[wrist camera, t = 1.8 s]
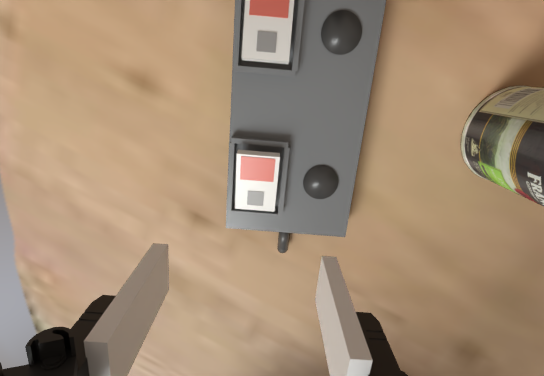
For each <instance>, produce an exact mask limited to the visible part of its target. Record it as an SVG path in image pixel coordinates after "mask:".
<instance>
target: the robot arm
mask: <svg viewBox="0 0 544 376" xmlns="http://www.w3.org/2000/svg"><path fill="white" fill-rule="evenodd" d="M168 290H169V265H168V244H155V243H153V244H152V246H151V247H150V249H149V250H148V251H147V253H146V254H145V256H144V257H143V258H142V260H141V261H140V263H139V264H138V266H137V267H136V268H135V270H134V271H133V273H132V274H131V275H130V277H129V278H128V280H127V281H126V282H125V284H124V285H123V287H122V288H121V289H120V291H119V292H118V294H117V295H116V296H110V295H102V296H101V297H99V298H98V299H96V300H95V301H93V302H92V303H91V304H90V305H89V307H88V308H87V309H86V310H85V313H83V314H82V315H81V317H80V318H79V320H78V321H77V322H76V323H75V324H74V326H73V327H72V328H71V329H69V328H66V327H53V328H50V329H47V330H44V331H42V332H40V333H38V334H36V335H35V336H34V337H33V338H32V339H30V340H29V342H28V343H27V345H26V352H27V357H28V361H29V364H28V365H24V366H19V367H13V368H7V369H2V366H1V363H0V376H127V375H128V373H129V371H130V369H131V367H132V365H133V363H134V360H135V358H136V356H137V354H138V352H139V350H140V348H141V346H142V344H143V342H144V340H145V338H146V336H147V334H148V332H149V329H150V327H151V325H152V323H153V321H154V319H155V317H156V315H157V313H158V311H159V309H160V307H161V305H162V303H163V301H164V298H165V296H166V294H167V292H168ZM315 301H316V306H317V312H318V317H319V322H320V327H321V333H322V338H323V343H324V348H325V353H326V359H327V364H328V369H329V374H330V376H408V375H407V374H406V373H405V372H403V371H401V370H400V368H399V366H398V364H397V361H396V359H395V357H394V355H393V352H392V350H391V348H390V345H389V343H388V341H387V338H386V336H385V334H384V333H383V329H382V327H381V325H380V322H379V321H378V320H377V319H376V318H375V317H374V316H373V315H372V314H371V313H363V312H355V309H354V306H353V303H352V300H351V297H350V295H349V292H348V289H347V286H346V283H345V280H344V278H343V275H342V272H341V269H340V266H339V263H338V261H337V258H336V257H330V256H322V258H321V264H320V271H319V278H318V284H317V291H316V297H315Z"/></svg>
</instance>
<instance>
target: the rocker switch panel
mask: <svg viewBox="0 0 544 376" xmlns="http://www.w3.org/2000/svg"><path fill="white" fill-rule="evenodd" d="M385 5H386V0H294V9H293V21H292V32H291V44H290V55H289V63H288V64H279V63H267V62H256V61H245V60H242V42H243V27H244V12H245V0H235V18H234V42H233V70H232V94H231V118H230V142H229V162H228V186H227V213H226V228H233V229H246V230H259V231H273V232H279V238H278V251H279V252H280V253H285V252H286V251H287V250H288V242H289V233H299V234H312V235H325V236H338V237H345V235H346V229H347V224H348V218H349V212H350V206H351V201H352V195H353V189H354V183H355V178H356V172H357V166H358V160H359V155H360V149H361V143H362V137H363V131H364V126H365V120H366V114H367V108H368V103H369V97H370V91H371V85H372V80H373V74H374V68H375V62H376V57H377V51H378V45H379V39H380V34H381V28H382V22H383V16H384V10H385ZM238 150H249V151H261V152H273V153H280V162H279V172H278V182H277V192H276V202H275V211H274V212H272V211H259V210H246V209H235V192H236V161H237V151H238Z"/></svg>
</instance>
